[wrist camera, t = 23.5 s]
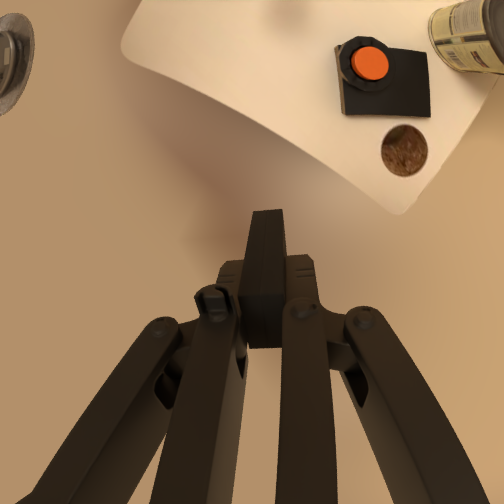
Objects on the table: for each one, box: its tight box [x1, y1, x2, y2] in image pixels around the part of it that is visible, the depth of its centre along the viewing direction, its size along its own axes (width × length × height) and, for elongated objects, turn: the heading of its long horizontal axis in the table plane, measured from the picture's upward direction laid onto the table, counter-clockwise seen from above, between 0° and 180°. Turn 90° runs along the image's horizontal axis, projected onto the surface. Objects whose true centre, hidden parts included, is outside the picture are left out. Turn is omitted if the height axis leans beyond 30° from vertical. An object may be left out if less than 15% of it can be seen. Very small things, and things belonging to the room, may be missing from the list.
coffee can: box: [428, 0, 504, 75], centre depth 18 cm, size 10×10×14 cm
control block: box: [335, 36, 431, 117], centre depth 28 cm, size 12×10×4 cm
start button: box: [351, 47, 389, 80], centre depth 25 cm, size 4×4×2 cm
